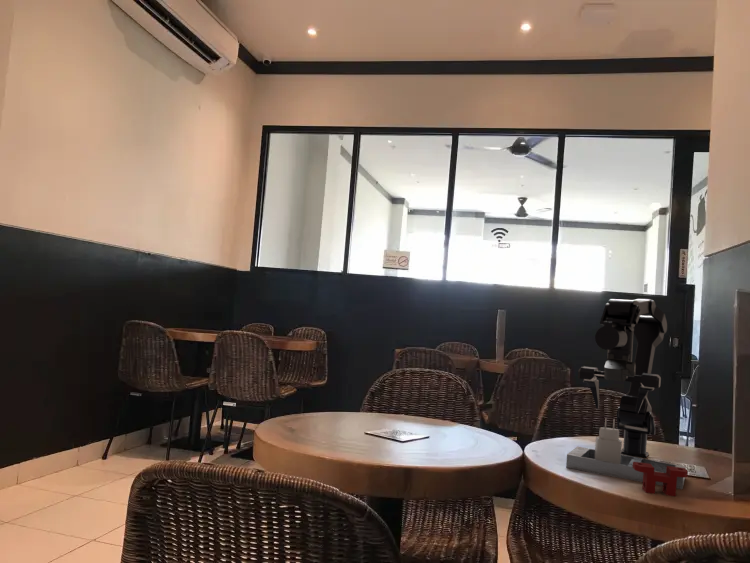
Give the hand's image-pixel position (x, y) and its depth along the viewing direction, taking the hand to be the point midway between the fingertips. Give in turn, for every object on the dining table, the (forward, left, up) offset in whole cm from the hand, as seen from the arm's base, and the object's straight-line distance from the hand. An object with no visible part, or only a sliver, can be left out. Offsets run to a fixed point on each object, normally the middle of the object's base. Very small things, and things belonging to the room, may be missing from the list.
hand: (616, 411), depth 145 cm
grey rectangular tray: (+10, +4, -13) cm, 17 cm away
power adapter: (+10, 0, -13) cm, 16 cm away
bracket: (+22, +17, -10) cm, 29 cm away
